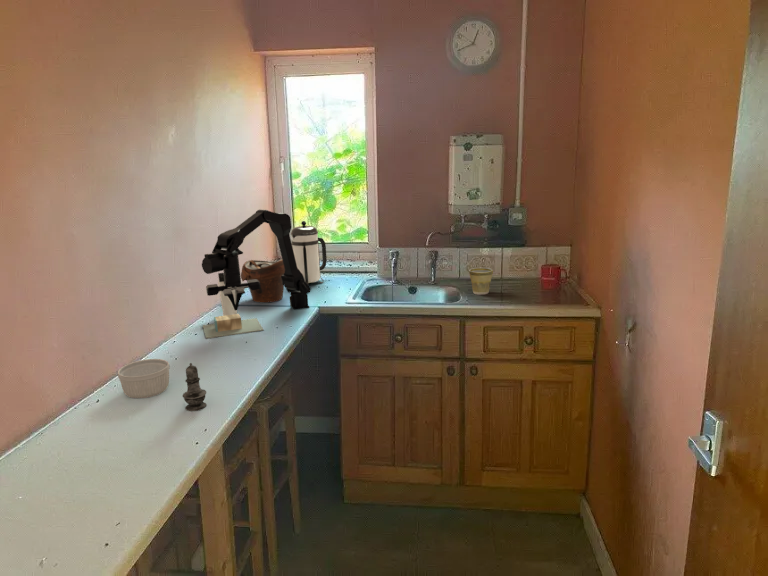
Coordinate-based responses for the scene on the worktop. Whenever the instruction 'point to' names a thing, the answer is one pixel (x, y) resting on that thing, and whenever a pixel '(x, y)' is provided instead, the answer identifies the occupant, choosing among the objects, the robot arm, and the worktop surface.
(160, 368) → the ramekin
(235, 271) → the robot arm
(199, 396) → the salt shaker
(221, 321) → the beech block
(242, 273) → the brown round container
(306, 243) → the coffee press
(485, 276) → the ceramic cup
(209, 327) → the rubber mat
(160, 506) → the worktop surface
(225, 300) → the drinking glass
